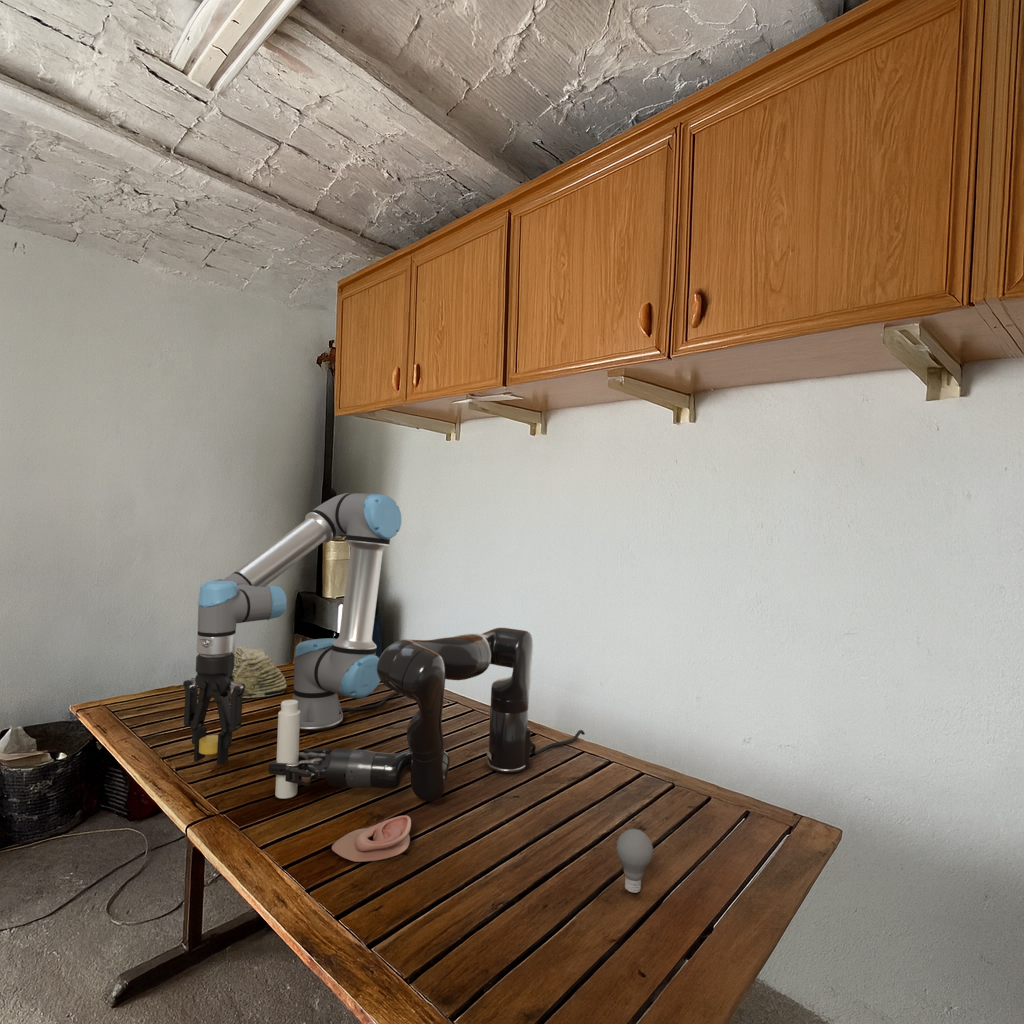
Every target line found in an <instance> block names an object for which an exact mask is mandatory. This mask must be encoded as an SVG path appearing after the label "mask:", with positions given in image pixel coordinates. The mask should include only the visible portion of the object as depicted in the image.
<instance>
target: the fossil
mask: <svg viewBox="0 0 1024 1024" xmlns="http://www.w3.org/2000/svg"><path fill="white" fill-rule="evenodd" d="M232 653H233V654H234V655H235V657H234V670H233V673H232V675H233V678H234V682H236V683H238V684H245V690H244V692H243V698H242V699H250V698H264V697H271V696H275V695H281V694H284V693H285V691H286V689H287V687H288V686H287V680H286V678H285V676H284V674H283V673H282V672H281V669H279V668H278V667H277V665H276V663H275V662H274V660H273V659H272V658H271V657H270V656H269V655H268V654H267V653H266V652H265V650H264V649H263V648H260V647H258V648H251V647H247V646H246V647H245V646H238V647H237V648H235V651H233V652H232ZM230 691H231V688H230V689H229V695H230V698H229V699H231V694H232V693H230Z"/></svg>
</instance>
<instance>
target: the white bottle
mask: <svg viewBox="0 0 1024 1024" xmlns="http://www.w3.org/2000/svg"><path fill="white" fill-rule="evenodd" d="M299 730H300V710H298V701H297V700H292V699H284V700H283V701H281V703H280V710H279V711H278V713H277V734H276V735H277V740H276V762H275V763H288V764H291V763H298V757H299V752H300V731H299ZM296 769H298V768H296ZM285 778H286V775H275V790H274V791H275V792H274V796H275V797H276V798H278V799H284V800H285V799H291V798H293V797H295V796H296V795H297V794H298V784H296V783H291V782H287V781H285ZM293 778H295V777H293Z"/></svg>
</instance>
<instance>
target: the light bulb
mask: <svg viewBox="0 0 1024 1024" xmlns="http://www.w3.org/2000/svg"><path fill="white" fill-rule="evenodd" d="M615 849H616V854H617V857H618V859H619V861H620V863H621V865H622V867H623V873H624V874H623V875H624V876H625V878H624V888H625V890H627V891H628V892H630V893H634V894H635V893H639V892H640V891H641V889H642V887H641V886H642V879H643V877H644V875H645V871H646V868H647V867H648V866H649V864H650V863H651V861H652V859H653V855H654V847H653V843H652V841H651V838H649V836H648V835H647V834H646V833H645V832H643V831H642V830H641V829H636V828H629V829H627V830H625V831H623V832H622V833H621V834H620V835H619V837H618V839H617V841H616V847H615Z"/></svg>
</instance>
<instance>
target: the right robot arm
mask: <svg viewBox="0 0 1024 1024" xmlns="http://www.w3.org/2000/svg"><path fill="white" fill-rule="evenodd" d="M534 641H535V640H534V636H533V634H532V633H531V632H530V631H529V630H523V629H517V628H510V627H496V628H492V629H490V630H488V631H487V630H486V631H485V632H482V633H465V634H459V635H454V636H447V637H441V638H440V637H439V638H433V639H410V638H409V639H408V638H405V639H399V640H397V641H395V642H392V643H391V644H390V645H389V646H387V647H386V648H385V649H384V650H383V652H382V653H381V655H380V656H379V657H378V658H379V660H378V663H377V674H378V677H379V679H380V683H382V684H383V685H384V686H385V687H387V688H388V689H390V690H392V691H394V692H398V693H400V694H399V695H402V696H403V697H406V698H408V699H410V700H413V701H415V702H416V704H417V707H418V710H417V712H416V713H414V715H413V716H412V717H411V719H410V720H409V722H408V725H407V730H406V740H407V746H408V750H405V751H400V752H383V751H382V752H380V751H373V750H368V749H354V748H340V747H336V748H334V749H333V748H331V747H326V748H322V747H321V748H305V749H304V750H303V751H299V757H298V763H291V764H288V763H276V762H270V763H269V764H268V774H269V775H275V776H276V775H286V778H285V781H287V782H291V783H296V784H297V785H301V786H304V787H305V786H306V787H309V786H312V781H313V780H324V779H325V780H326V782H327V785H328V786H329V787H333V788H334V787H335V788H336V787H337V788H348V789H349V788H350V789H383V790H395V789H398V788H400V786H401V785H402V783H403V781H404V779H405V778H406V776H407V775H408V774H410V787H411V791H412V792H413V794H414V795H415V797H416V798H418V799H419V800H421V801H424V802H427V803H428V802H435V801H437V800H438V799H440V798H441V797H442V796H444V795H443V794H444V793H445V791H446V788H447V783H448V776H449V770H450V764H451V760H450V759H451V758H450V756H449V754H448V753H447V752H446V750H445V741H444V734H443V725H442V719H443V709H444V700H445V689H446V680H449V681H465V680H469V679H472V678H476V677H478V676H480V675H482V674H484V673H485V672H486V671H487V670H488V669H489V667H490V666H491V665H493V666H498V667H504V668H508V669H512V673H511V676H508V677H503V678H500V679H499V678H498V679H496V680H495V681H493V682H492V683H491V688H490V707H489V708H490V711H489V732H488V748H486V756H487V767H488V768H489V769H490V770H492V771H494V772H497V773H501V774H515V773H520V772H523V771H525V770H526V769H529V768H530V756H531V754H532V755H535V756H536V755H538V754H541V753H543V752H545V751H547V750H549V749H551V748H554V747H558V746H562V745H568V744H570V743H573V742H575V741H577V739H578V738H579V736H580V735H585V734H586V733H585V731H584V730H582V729H579V730H578V731H577V732H576V733H575V735H574V736H573V737H571V738H569V739H566V740H561V741H556V742H552V743H549V744H547V745H545V746H543V747H541V748H540V749H538V750H536V749H537V745H536V744H535V743H534V742H533V740H532V739H531V735H532V734H531V733H532V731H531V727H529V703H530V689H531V683H532V675H533V674H532V672H533V662H534V652H535V651H534V650H535V642H534ZM296 768H298V769H296ZM293 777H295V778H293Z"/></svg>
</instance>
